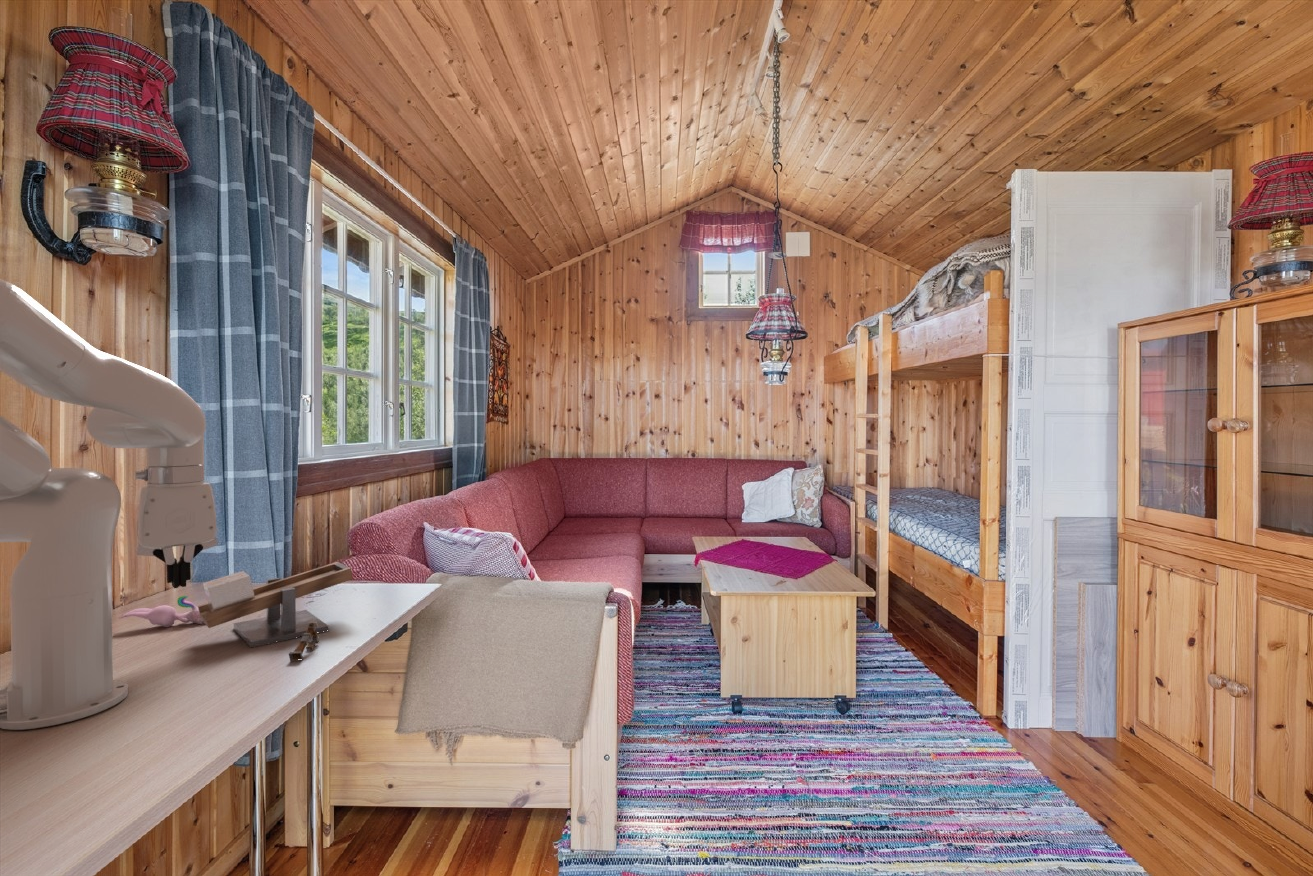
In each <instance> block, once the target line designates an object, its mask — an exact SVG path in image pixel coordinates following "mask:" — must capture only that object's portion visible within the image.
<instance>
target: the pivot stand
mask: <svg viewBox="0 0 1313 876" xmlns="http://www.w3.org/2000/svg"><path fill="white" fill-rule="evenodd" d="M278 580H281V578H280V577H273V578H267V579H266V581H265V584H268V583H272V582H275V581H278ZM296 600H297V599H295V588H294V587H293V588H287V589H281V604H278V605H276V606H273V607H270V608H267V609H266V617H259V618H256V619H251V620H250V619H249V620H244V621H240V622H239V621H238V622H234V623H233V630H234V631H235V632H236V633H237V634H238V635H239V636H240V638H241V639H242V640H243V642H245V641H246V642H245V643H246V644H247V645H248V647H249V648H251V647H253V648H256V647H255V646H257V647H262V646H265V645H264V644H267V645H269V644H268V643H271V644H274V643H273V642H276V641H281V642H284V641H283V640H286V641H288V640H287V639H290V640H293V639H292V638H295V639H297V638H296V637H300V636H303V634H304V633H306V631H307V630H308V628H307V627H308V626H309V624H310V622H313V621H317V627H316V632H323V631H327V630H329V629H330V627H329V625H328V624H327V623H325V622H324V621H323V620H321V619H320V618H318V617H317V616H315V615H314V614H312V612H310V611H308V610H307V609H303V610H299V611H297V610H296V606H297V605H296ZM329 631H330V630H329ZM323 633H324V632H323ZM300 638H301V637H300ZM276 643H277V642H276ZM261 645H262V646H261Z"/></svg>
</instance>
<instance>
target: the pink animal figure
mask: <svg viewBox="0 0 1313 876" xmlns="http://www.w3.org/2000/svg"><path fill="white" fill-rule="evenodd" d="M187 598H189V596H188V595H181V596H179V597H178V599H177V601H176V602H177V605H178V606H179V607H181V608H191V609H192V610H190V611H187V612H184V613H177V610H176V608H174V607H173V606H170V605H167V604H164V605H158V606H155V607H154V608H147V607H141V608H140V607H139V608H136V609H131V610H130V611H127V612H125V613H123V614H122V615H121V616H119V617H118V618H119V619H123V618H128V617H138V618H142V619H144V620H148V621H149V623H150V624H152V625H157V626H162V627H163V628H164V627H165V628H169V627H170V626H172V625H173V624H174V625H175V621H180V622H182V623H190V622H191V623H194V624H198V625H206V624H205V623H204V621H203V620H202V619H201V617H200V613H199V609H198V606H196V605H195V604H194V603H193V602H191V601H188V600H186V599H187Z"/></svg>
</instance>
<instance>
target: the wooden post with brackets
mask: <svg viewBox="0 0 1313 876" xmlns="http://www.w3.org/2000/svg"><path fill="white" fill-rule="evenodd" d="M316 627H317V621H313V622H310V624H309V626H308V627H307V628H308V630H307V631H306V633H304V634H303V636H302V637H301V639H300V641H299V644H298V645H297V646H296V648H295V649H294V650H293V651H289V653H288V658H289V662H292V661H291V660H298V659H302V660H304V658H303V653H304V651H305V649H306V652H307V651H310V652H311V650H312V651H314V648H316V646H317V644H319V643H320V640H319V639H320V637H319V635H318V634H317V632H316ZM311 639H312V640H311Z"/></svg>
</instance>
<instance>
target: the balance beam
mask: <svg viewBox="0 0 1313 876" xmlns="http://www.w3.org/2000/svg"><path fill="white" fill-rule="evenodd" d="M352 580H354V574H353V571H352V567H350V566H347V565H345V564H343V563H341V562H339V561H335V562H332V563H328V564H326V565H323V566H320V567H316V568H313V569H310V570H307V571H304V572H299V573H298V574H294V575H291V576H287V577H284V578H280V580H278V581H275V582H272V583H268V584H266V583H265V584H263V585H260V586H257V587H253V592H254V596H255V598H254V599H251V600H247V601H244V602H241V603H238V604H235V605H232V606H229V607H226V608H223V609H220V610H217V611H214V612H211V611H210V609H209V605H208V602H206V603H202V604H199V605H197V607H198V609H199V613H200V617H201V619H202V620H203V621H204V623H205V624H204V625H206V627H207V628H208V629H211V628H213V627H216V626H219V625H222V624H225V623H228V622H232V621H234V620H237V619H240V618H243V617H247V616H249V615H251V614H252V615H253V614H255V613H258V612H260V611H263V610H267V608H270V607H273V606H276V605H278V604H280V605H281V589H287V588H293V587H294V588H295V600H297V599H300V598H301V597H305V596H308V595H311V594H314V593H316V592H320V591H322V590H326V589H327V588H331V587H334V586H337V585H339V584H342V583H347V582H349V581H352Z"/></svg>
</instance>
